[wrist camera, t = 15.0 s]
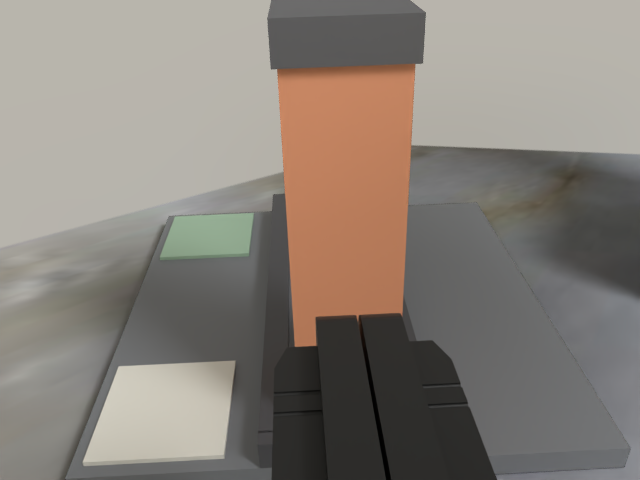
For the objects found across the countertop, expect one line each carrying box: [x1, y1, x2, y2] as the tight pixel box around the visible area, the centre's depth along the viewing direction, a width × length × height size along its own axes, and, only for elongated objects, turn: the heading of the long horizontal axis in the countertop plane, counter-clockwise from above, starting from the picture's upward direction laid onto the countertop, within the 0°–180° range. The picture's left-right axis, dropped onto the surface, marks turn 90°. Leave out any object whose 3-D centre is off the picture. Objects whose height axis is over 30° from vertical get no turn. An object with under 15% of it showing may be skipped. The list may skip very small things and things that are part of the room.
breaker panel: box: [65, 194, 631, 480], centre depth 29 cm, size 20×20×2 cm
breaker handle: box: [267, 0, 426, 347], centre depth 20 cm, size 4×4×14 cm
